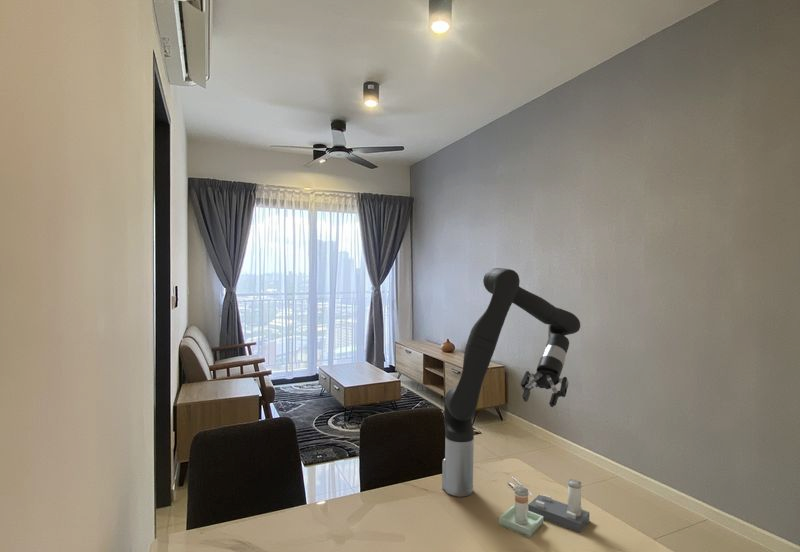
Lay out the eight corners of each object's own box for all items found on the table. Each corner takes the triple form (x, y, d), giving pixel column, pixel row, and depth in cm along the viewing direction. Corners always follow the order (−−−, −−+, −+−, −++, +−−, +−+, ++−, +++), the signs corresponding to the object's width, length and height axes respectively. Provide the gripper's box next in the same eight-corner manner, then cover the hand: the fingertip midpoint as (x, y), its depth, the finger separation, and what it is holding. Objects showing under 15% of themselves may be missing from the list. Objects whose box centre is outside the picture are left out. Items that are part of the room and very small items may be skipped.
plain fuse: (565, 514, 122) (565, 482, 122) (569, 509, 125) (570, 478, 125) (578, 518, 120) (578, 486, 120) (582, 513, 122) (583, 481, 123)
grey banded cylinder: (512, 522, 121) (512, 489, 121) (517, 516, 124) (518, 485, 124) (524, 526, 118) (524, 494, 119) (529, 521, 121) (530, 489, 121)
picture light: (533, 497, 138) (533, 490, 138) (521, 498, 137) (521, 491, 137) (512, 477, 151) (512, 471, 151) (501, 478, 150) (501, 472, 150)
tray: (498, 524, 120) (498, 517, 120) (513, 511, 127) (513, 505, 127) (530, 537, 114) (530, 530, 114) (543, 523, 121) (543, 516, 122)
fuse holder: (528, 513, 127) (528, 500, 127) (538, 502, 133) (539, 490, 133) (580, 532, 117) (580, 519, 117) (589, 520, 123) (589, 507, 123)
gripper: (528, 352, 146) (513, 392, 137) (570, 357, 137) (557, 400, 128) (534, 365, 150) (520, 405, 141) (576, 371, 141) (563, 414, 132)
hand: (537, 402), depth 135 cm, fingers open, 8 cm apart
